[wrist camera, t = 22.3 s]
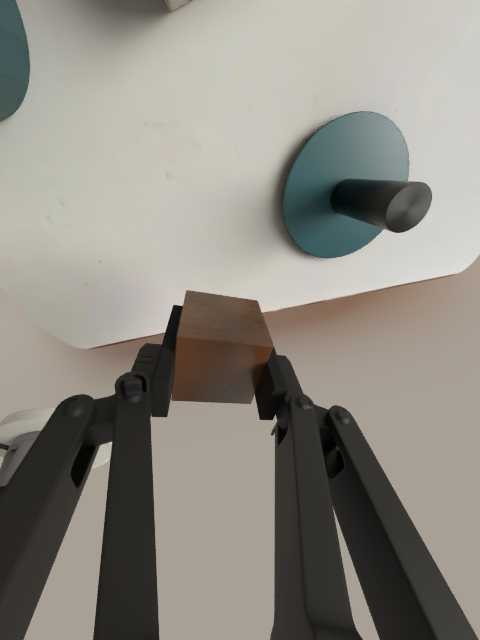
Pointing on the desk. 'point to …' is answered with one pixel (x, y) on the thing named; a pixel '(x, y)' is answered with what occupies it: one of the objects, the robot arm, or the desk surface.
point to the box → (175, 4)
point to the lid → (351, 186)
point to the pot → (12, 59)
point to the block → (219, 349)
